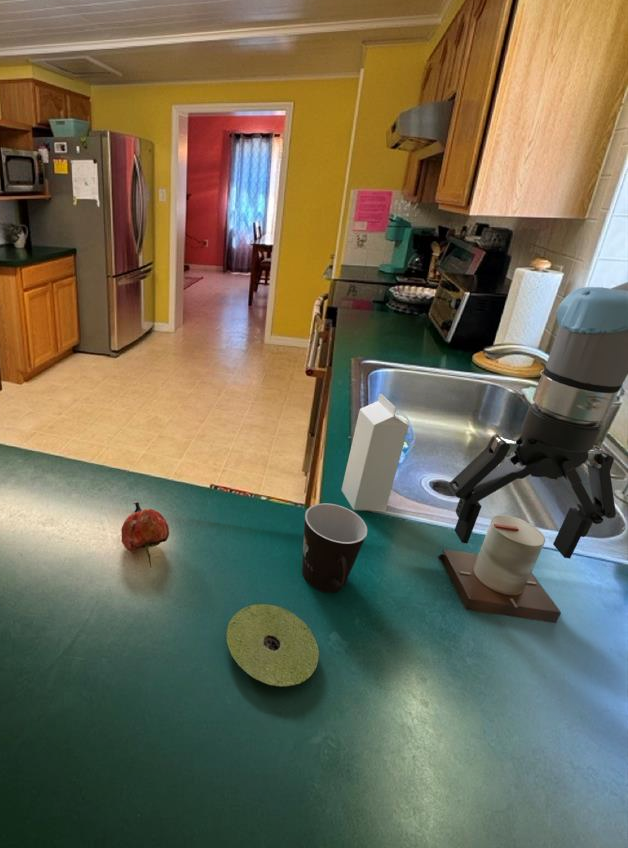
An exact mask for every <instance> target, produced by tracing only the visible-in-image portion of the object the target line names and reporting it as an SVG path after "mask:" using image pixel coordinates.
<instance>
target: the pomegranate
mask: <svg viewBox="0 0 628 848" xmlns="http://www.w3.org/2000/svg"><path fill="white" fill-rule="evenodd" d="M133 505H135V510H134V512H132V513H131V514H130V515H129V516H127V517H126V519H125V520H124V522H123V524H122V526H121V530H120V531H121V543H122V545H123V546H124V548H125V549H126V550H127V551H128V552H130V553H134V552H138V551H140V549H145V551H146V554H147V557H148V562H149V567H150V568H152V562H151V554H150V552H149V548H152V547H156V546H159V545H160V544H161V543H164V542H167V541H168V539H169V536H170V527H169V524H168V522H167V520H166V518H165V517H164V516H163V514H161V513H160V512H159V511H157V510H155V509H152V508H149V509H146V508H145V509H141V508H142V507H141V506H140V502H138V501H137V502H133Z"/></svg>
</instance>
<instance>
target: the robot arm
mask: <svg viewBox="0 0 628 848" xmlns="http://www.w3.org/2000/svg"><path fill="white" fill-rule="evenodd" d="M556 319H557V320H556V322H557V323H558V326H559V329H558V331H557V334H556V337H555V339H554V342H553V345H552V348H551V350H550V353H549V355H548V358H547V361H546V363H545V366H544V369H543V372H542V374H541V376H540V378H539V381H538V383H537V386H536V388H535V391H534V393H533V395H532V401H533V403H532V404H530V405H529V406H528V409H527V412H526V415H525V417H524V419H523V422H522V424H521V433H520V435H519V437H518V438H517V439H516V440H510V439H506V438H503V437H502V436H501V435H500V434H497V433H496V434H493V435H492V436H491V437H490V440H489V442H488V444H487V446H486V447H485V448H484V449H483V450H482V451H481V452H480V453H479V454H478V455H477V456H476V457H475V458H474V459H473V460H472V461H470V463H469V464H468V465H466V467H465V468H463V469H462V470H461V471H460V472H459V473H458V474H457V475H456V476H455V477H454V478H453V479H451V481H450V482H449V483H448V486H449V488H450V490H451V491H452V492H453V493H452V494H453V495H454V496H455V497H456V498H457V499H458V503H457V506H456V508H455V514H456V516H457V517H458V519H457V522H456V525H455V527H454V532H455V534H456V536H457V537H458V539H459V541H460V542H461V544H468V543H469V541H470V538H471V535H472V533H473V530H474V528H475V526H476V523H477V520H478V518H479V514H480V511H481V509H482V505H481V503H480V501H481V500H483V499H485V498H486V497H488V496H490V495H492V494H493V493H495V492H497V491H499V490H500V489H502V488H503V487H506V486H507V485H510V484H511V483H513V482H514V481H516V480H518V479H519V480H523V479H525V478H527V477H529V476H531V477H532V478H533V477H534V478H545V477H546V478H548V479H549V480H556V481H557V480H558V479H559V478H561V480H562V482H563V484H564V486H565V487H566V489H567V491H568V493H569V494H570V496H571V497H572V499H573V501H574V503H575V505H576V507H577V508H578V509H577V508H575V507H569V509H568V511H567V513H566V515H565V518H564V520H563V522H562V524H561V526H560V528H559V530H558V532H557V534H556V537H555V539H554V541H553V543H552V545H553V547H554V548H555V549H556V550H557V551H558V552H559V554H560V555H561V556H562V557H563V558H565V559H572V556H573V553H574V552H575V550H576V548H577V546H578V544H579V541H580V540H581V538H585V537H587V535H588V533H589V531H590V529H591V528H592V525H593V524H595V525H601V524H602V523H603V522H604V517H605V518H607V519H614V518H616V515H617V511H616V505H615V498H614V497H615V496H614V490H613V481H612V475H611V470H612V467H613V464H614V461H615V458H614V456H612V455H611V454H609V453H608V451H606V450H604V449H603V448H601V447H600V446H598V445H597V446H595V445H596V442H597V440H598V438H599V437H600V436H599V435H600V434H601V431H602V429H603V424H602V422H603V421H605V420H606V419H607V418H608V415H609V414H610V411H611V410H612V407H613V405H614V403H615V401H616V398H617V396H618V394H619V392H620V391H621V389H622V386H623V384H624V383H625V380H626V378H627V377H628V281H627V282H624V283H621V284H619V285H616V286H613V287H611V288H609V287H603V286H601V287H599V286H584V287H581V288H577V289H575V290H573V291H572V292H570V293H569V294H567V295H566V296H565V297H564V298H563V299H562V301H561V302H560V303H559V306H558V307H557V311H556ZM512 452H513V453H512ZM511 453H512V454H511ZM585 463H587V464H586V465H587V472H588V478H589V486H590V491H591V496H592V497H591V498H592V499H591V498H590V496H589V494H588V492H587V490H586V488H585V486H584V484H583V483H582V481H583V480H582V478H581V476H580V475H579V473H578V471H577V468H579V467H581V466H582V465H583V464H585ZM517 464H519V466H520V467H517V466H516V465H517Z"/></svg>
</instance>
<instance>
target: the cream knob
mask: <svg viewBox="0 0 628 848" xmlns="http://www.w3.org/2000/svg"><path fill="white" fill-rule="evenodd" d="M545 543H546V537H545V535H544V534H543V532H541V531H540V530H539V529H538V528H537V527H536V526H534V525H533V524H532V523H529V522H528V521H525V520H523V519H521V518H518V517H516V516H512V515H507V514H499V515H495V516H493V517H492V518H491V520H490V523H489V525H488V527H487V531H486V534H485V536H484V539H483V541H482V544H481V546H480V549H479V552H478V553H477V554H478V557H477V559H476V562H475V565H474V568H473V570H474V573H475V575H476V577H477V578H478V579H479V580H480V581H481V582H482V583H483V584H485V585H486V586H487V587H489V588H491V589H493V590H495V591H497V592H499V593H502V594H506V595H519V594H521V593H522V592H523V590H524V588H525V586H526V583H527V581H528V579H529V577H530V574H531V572H532V573H533V570H534V568H535V565H536V564H537V561H538V559H539V557H540V554H541V552H542V549H543V547H544V545H545Z"/></svg>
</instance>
